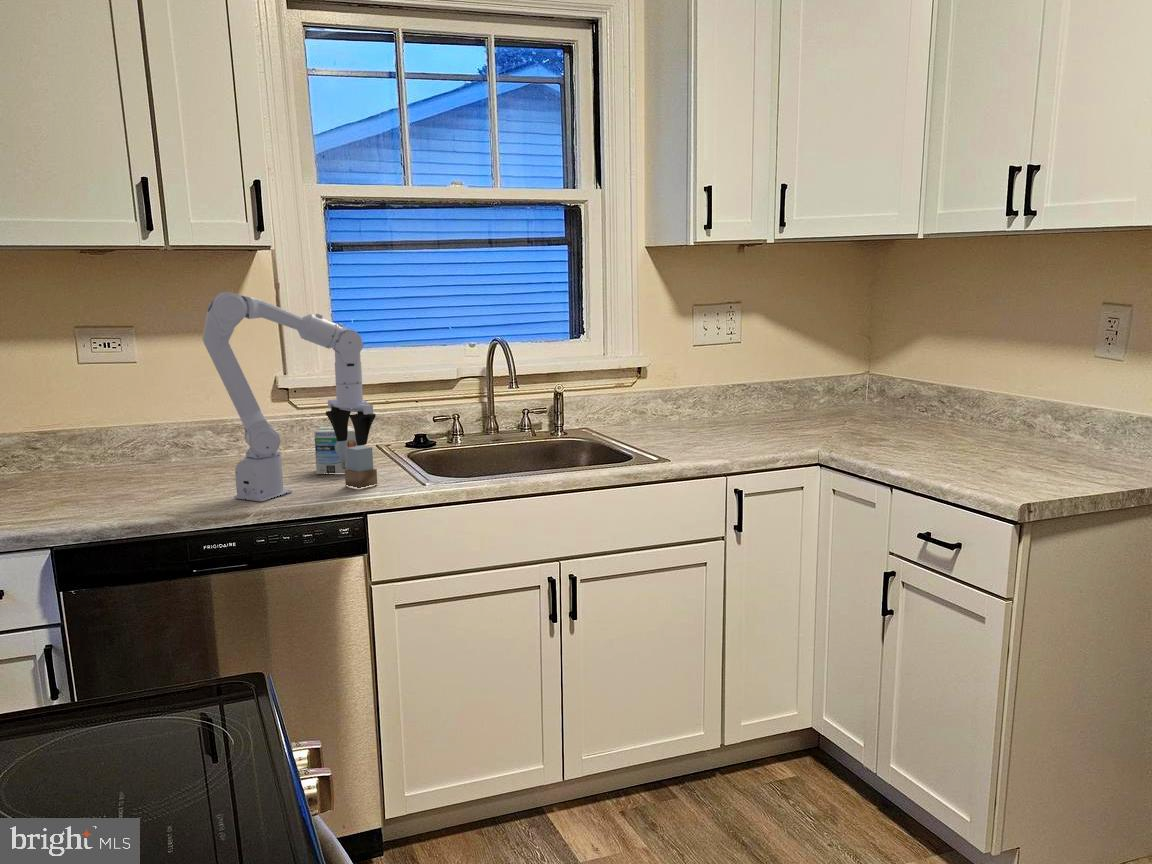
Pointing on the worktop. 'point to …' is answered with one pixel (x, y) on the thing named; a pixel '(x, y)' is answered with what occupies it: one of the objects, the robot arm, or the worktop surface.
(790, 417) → the worktop surface
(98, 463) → the worktop surface
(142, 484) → the worktop surface
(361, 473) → the walnut block
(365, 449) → the slate block
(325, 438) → the light bulb box
